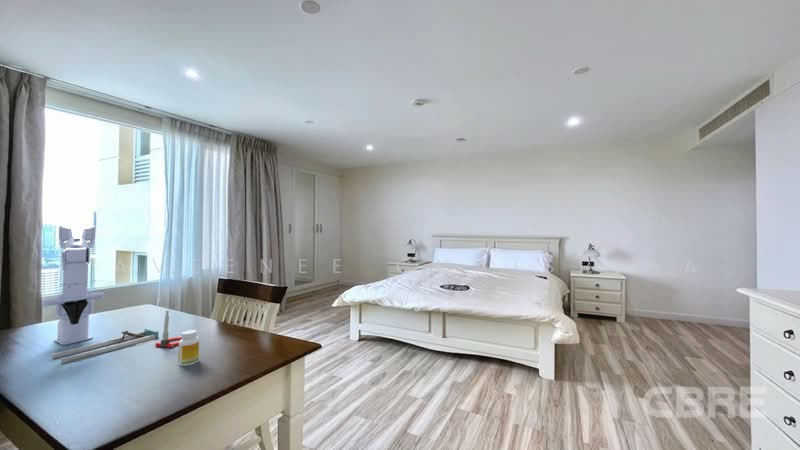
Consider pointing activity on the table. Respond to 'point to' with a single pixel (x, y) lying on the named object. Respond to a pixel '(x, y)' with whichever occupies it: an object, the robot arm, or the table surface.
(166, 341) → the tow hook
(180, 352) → the supplement bottle
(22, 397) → the table surface
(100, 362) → the table surface
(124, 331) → the wooden post with brackets
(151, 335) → the guide rail
